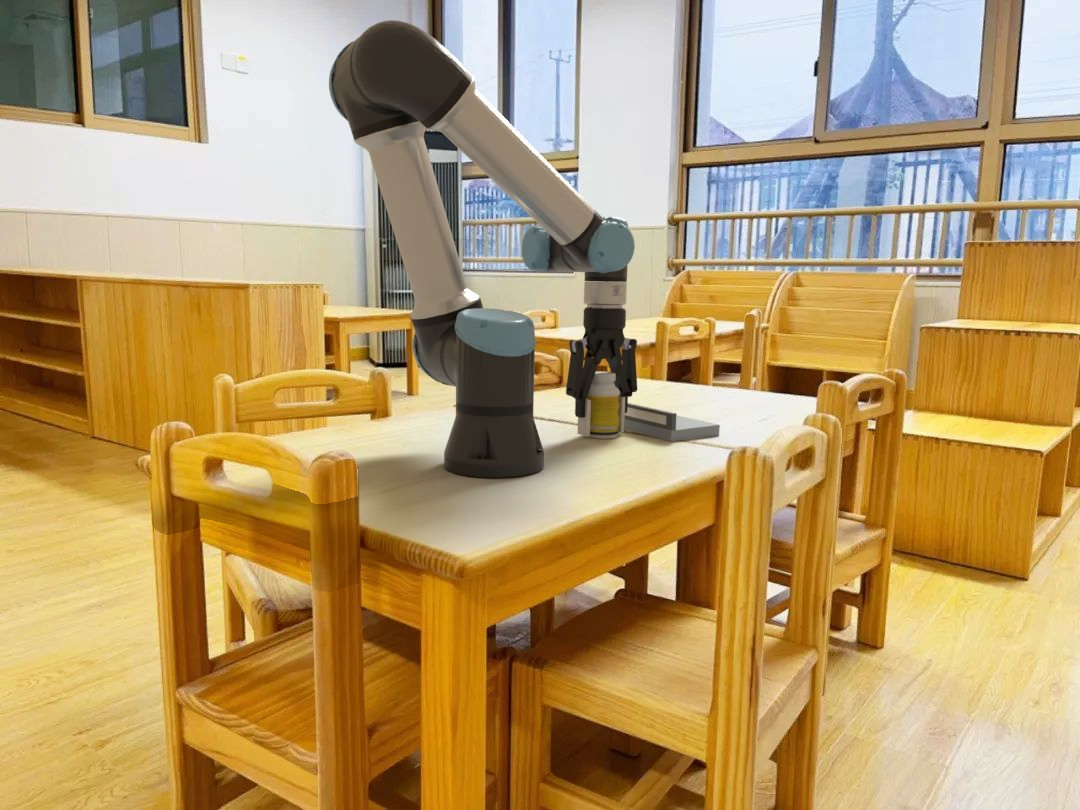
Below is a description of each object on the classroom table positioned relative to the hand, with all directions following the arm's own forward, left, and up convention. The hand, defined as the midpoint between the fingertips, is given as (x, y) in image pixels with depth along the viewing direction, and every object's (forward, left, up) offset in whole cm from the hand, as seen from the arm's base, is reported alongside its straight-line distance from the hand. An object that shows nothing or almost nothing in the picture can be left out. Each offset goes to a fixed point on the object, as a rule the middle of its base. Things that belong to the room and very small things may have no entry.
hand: (601, 432), depth 148 cm
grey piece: (+14, -2, -1) cm, 14 cm away
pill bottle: (0, 0, -1) cm, 1 cm away
